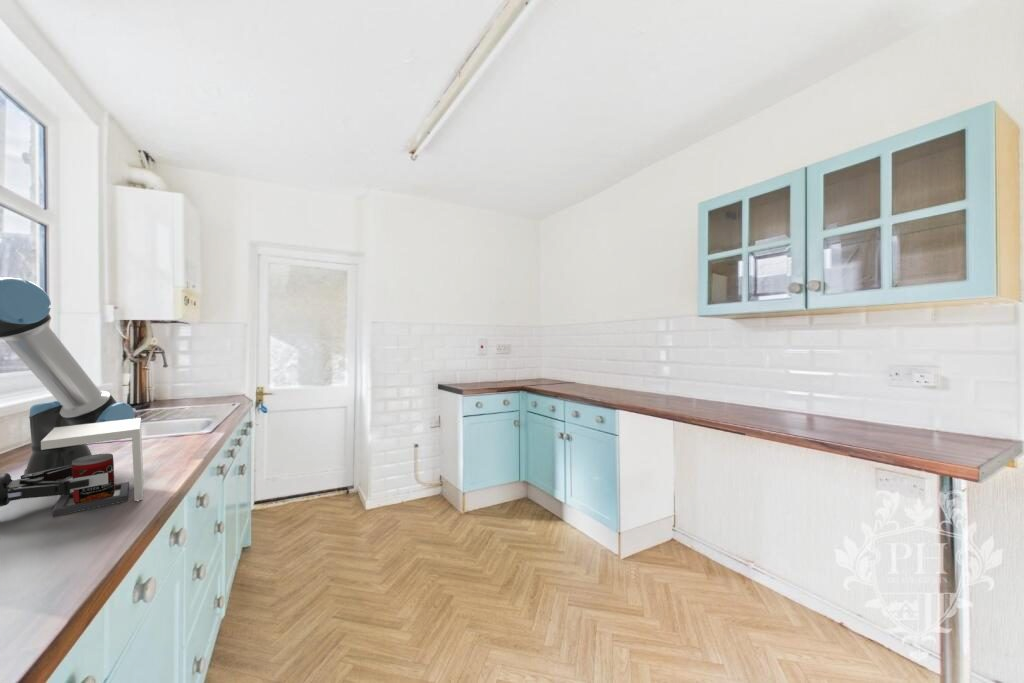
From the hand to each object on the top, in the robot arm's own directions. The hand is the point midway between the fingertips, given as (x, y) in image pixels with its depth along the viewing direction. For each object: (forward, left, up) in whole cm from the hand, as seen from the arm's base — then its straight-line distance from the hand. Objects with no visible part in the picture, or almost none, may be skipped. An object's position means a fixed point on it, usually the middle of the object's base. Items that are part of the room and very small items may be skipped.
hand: (110, 471), depth 109 cm
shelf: (+2, -2, -7) cm, 8 cm away
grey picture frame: (+2, -2, -7) cm, 8 cm away
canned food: (+2, -2, -7) cm, 8 cm away
